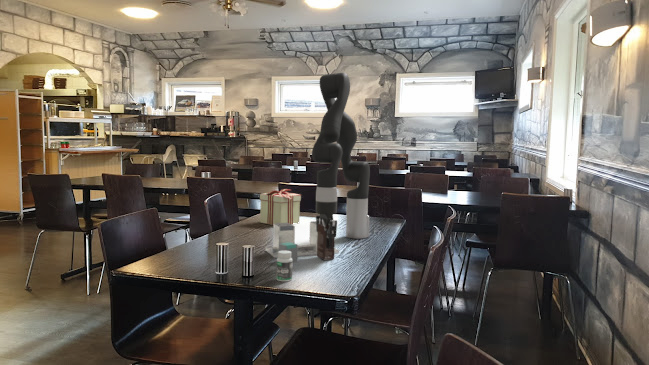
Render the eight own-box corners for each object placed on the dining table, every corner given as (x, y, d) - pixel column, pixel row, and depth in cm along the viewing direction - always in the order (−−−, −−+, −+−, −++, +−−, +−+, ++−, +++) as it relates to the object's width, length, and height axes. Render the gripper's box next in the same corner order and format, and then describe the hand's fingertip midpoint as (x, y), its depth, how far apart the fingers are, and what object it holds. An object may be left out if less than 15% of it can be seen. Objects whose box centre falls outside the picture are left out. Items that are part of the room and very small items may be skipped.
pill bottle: (273, 280, 141) (273, 252, 141) (280, 276, 146) (280, 249, 145) (288, 282, 140) (288, 254, 139) (294, 278, 144) (295, 250, 144)
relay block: (290, 259, 168) (291, 242, 168) (297, 261, 165) (297, 244, 165) (278, 261, 165) (278, 243, 165) (285, 263, 162) (285, 245, 162)
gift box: (287, 227, 232) (287, 192, 230) (257, 223, 242) (258, 189, 240) (307, 223, 246) (307, 189, 244) (279, 219, 256) (279, 187, 254)
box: (335, 259, 169) (335, 225, 168) (323, 260, 167) (324, 226, 166) (327, 255, 174) (328, 222, 173) (316, 256, 172) (316, 223, 171)
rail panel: (326, 246, 190) (327, 219, 189) (339, 252, 179) (339, 224, 178) (265, 250, 181) (265, 222, 180) (274, 257, 170) (274, 228, 169)
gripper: (344, 201, 164) (343, 250, 165) (328, 197, 177) (327, 242, 178) (324, 202, 161) (323, 251, 162) (309, 197, 174) (308, 243, 176)
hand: (325, 246), depth 170 cm, fingers closed on box, 6 cm apart
